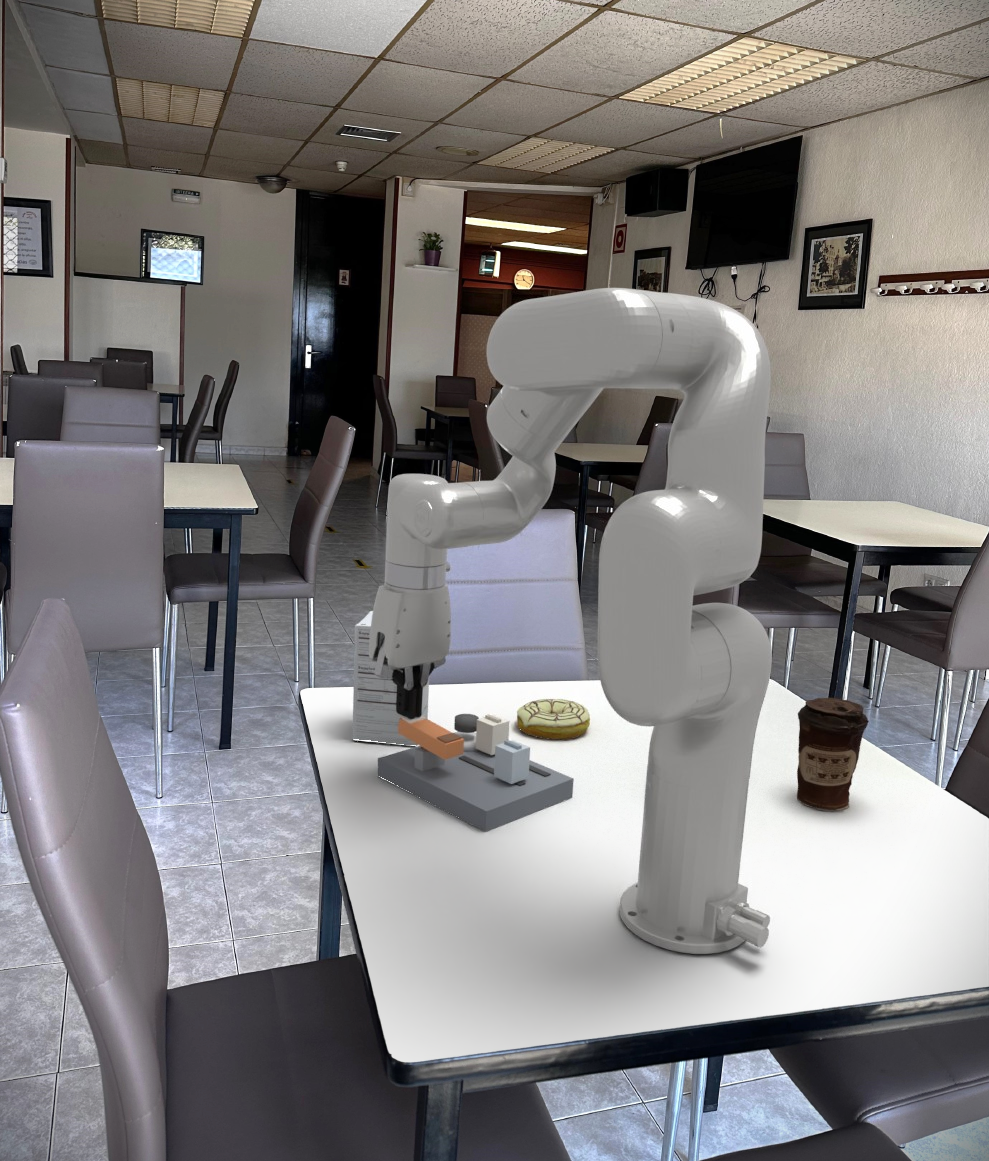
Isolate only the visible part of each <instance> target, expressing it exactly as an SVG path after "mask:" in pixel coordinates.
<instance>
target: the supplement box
mask: <svg viewBox="0 0 989 1161" xmlns="http://www.w3.org/2000/svg"><path fill="white" fill-rule="evenodd" d="M372 614H373V610H371V611H369V612H368V613H367V614H366V616H365V617H363V618H362V619H361V620H360V621H359V622H358V623H356V624H355V625H354V635H353V638H354V642H353V643H354V644H353V693H352V694H353V698H352V699H353V700H352V704H353V705H352V706H353V707H352V740H353V739H359V740H371V741H378V742H386V743H396V744H404V745H416V743H415V742H413V741H411V740H409V739H408V738H406V737H404V736H402V735H401V734H399V733H398V726H399V718H402V717H404V716H402V715H400V714H398V713H397V712H396V695H397V685H395V684H394V683H393V681H392V680H391V679H384V678H380V677H378V676H376V675H375V674H374V671H375V667H376V663H377V662H376V661H372V660H371V659H370V658H369V639H370V629H371V621H372ZM402 673H403V672H402ZM429 685H430V677H429V678H428V683H427V685H426V686H424V687H423V696H422V716H424V717H426V719H428V718H429V717H428V716H429V714H428V713H429V691H430V690H429V688H430V687H429ZM428 720H429V719H428ZM416 746H417V745H416Z"/></svg>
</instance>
